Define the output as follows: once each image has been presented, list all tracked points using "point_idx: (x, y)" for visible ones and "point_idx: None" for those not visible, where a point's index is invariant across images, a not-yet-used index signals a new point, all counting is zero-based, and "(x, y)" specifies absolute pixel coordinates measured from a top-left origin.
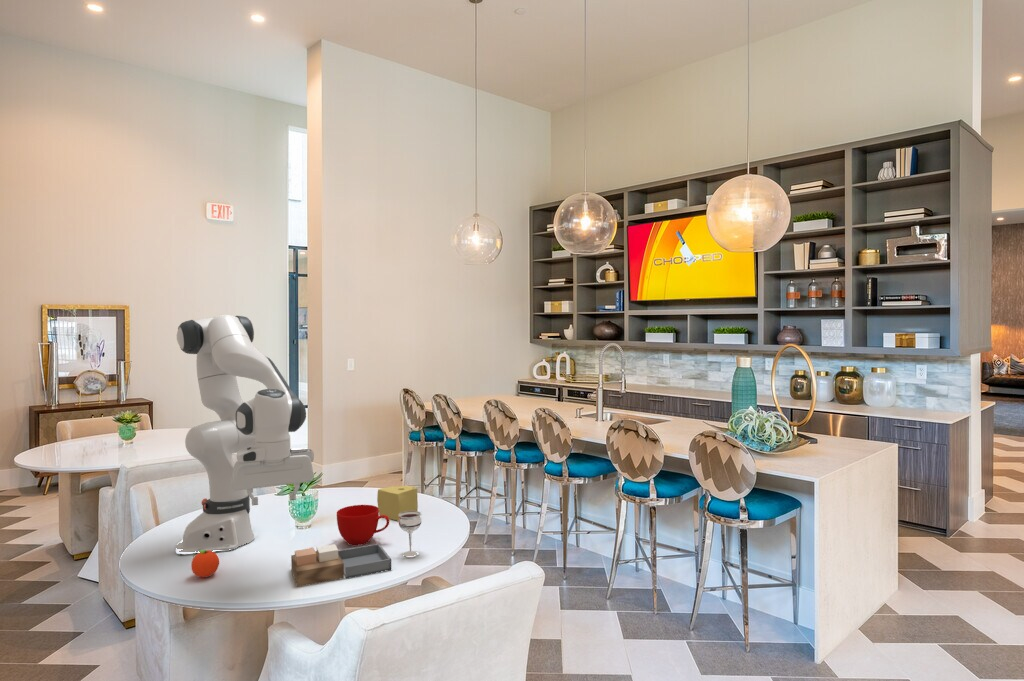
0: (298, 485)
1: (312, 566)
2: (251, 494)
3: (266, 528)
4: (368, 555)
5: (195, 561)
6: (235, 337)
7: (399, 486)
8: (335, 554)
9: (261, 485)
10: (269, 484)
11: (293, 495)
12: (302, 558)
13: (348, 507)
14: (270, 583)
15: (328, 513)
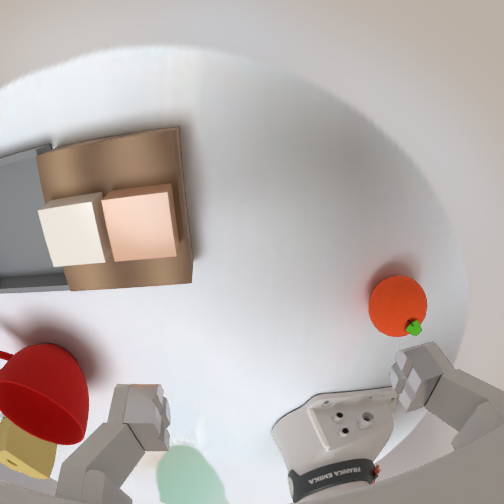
0: (70, 480)
1: (122, 159)
2: (478, 392)
3: (248, 455)
4: (14, 270)
5: (425, 297)
6: None
7: (20, 471)
8: (50, 203)
9: (463, 467)
10: (390, 500)
11: (127, 412)
12: (149, 191)
13: (68, 442)
14: (252, 184)
15: (148, 472)
